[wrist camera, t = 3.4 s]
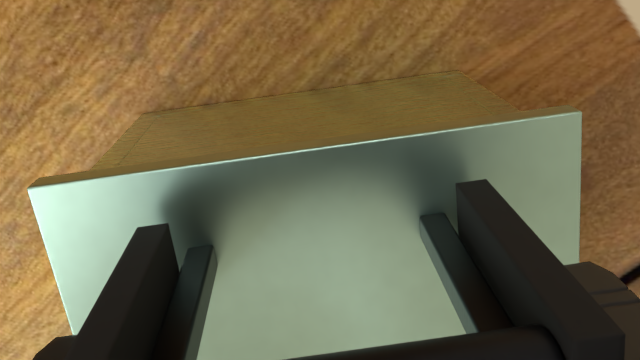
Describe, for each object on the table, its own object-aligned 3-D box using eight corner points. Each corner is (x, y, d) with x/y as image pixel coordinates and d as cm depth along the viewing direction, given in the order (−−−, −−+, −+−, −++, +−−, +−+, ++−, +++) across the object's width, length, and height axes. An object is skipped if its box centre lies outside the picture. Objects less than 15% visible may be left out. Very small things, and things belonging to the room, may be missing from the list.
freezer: (141, 113, 26) (49, 211, 16) (459, 69, 26) (568, 140, 16) (218, 438, 32) (186, 659, 22) (476, 402, 33) (562, 606, 22)
